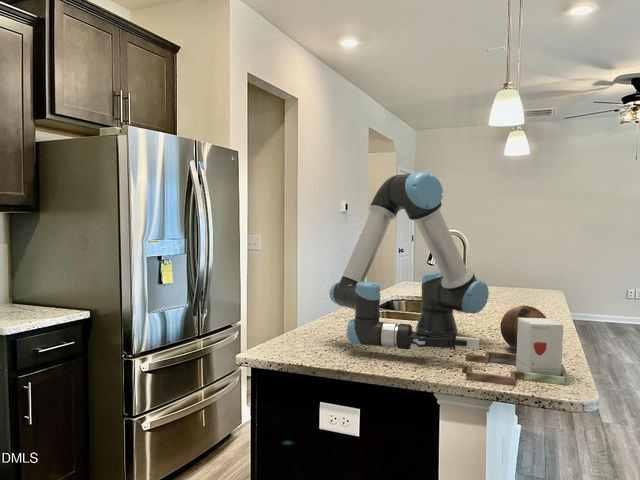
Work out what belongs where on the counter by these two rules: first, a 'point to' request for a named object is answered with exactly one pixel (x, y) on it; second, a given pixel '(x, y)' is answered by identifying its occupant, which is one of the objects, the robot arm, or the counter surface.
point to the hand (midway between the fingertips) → (479, 343)
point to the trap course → (511, 360)
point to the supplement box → (539, 346)
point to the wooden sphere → (516, 322)
